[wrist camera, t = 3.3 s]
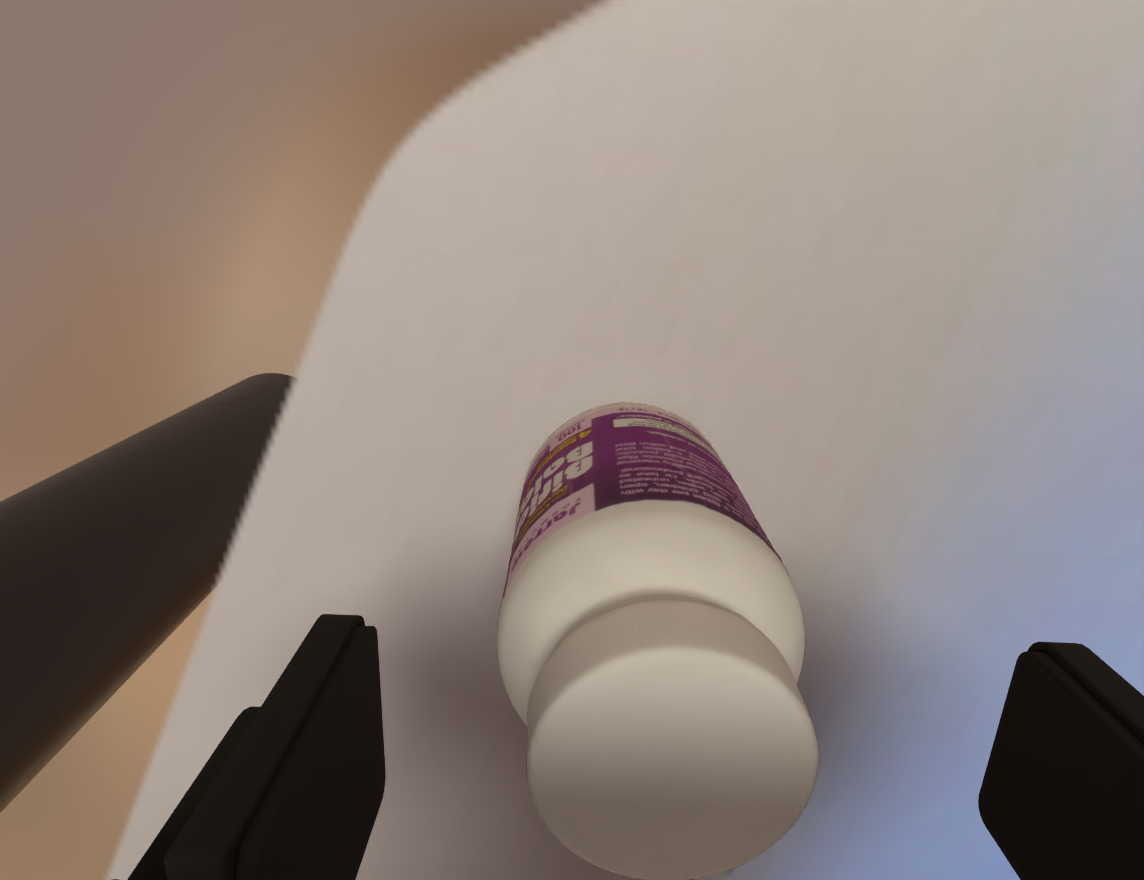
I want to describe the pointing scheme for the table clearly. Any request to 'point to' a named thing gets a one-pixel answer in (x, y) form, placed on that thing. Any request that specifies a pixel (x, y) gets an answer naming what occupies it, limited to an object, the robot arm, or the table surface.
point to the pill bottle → (653, 652)
